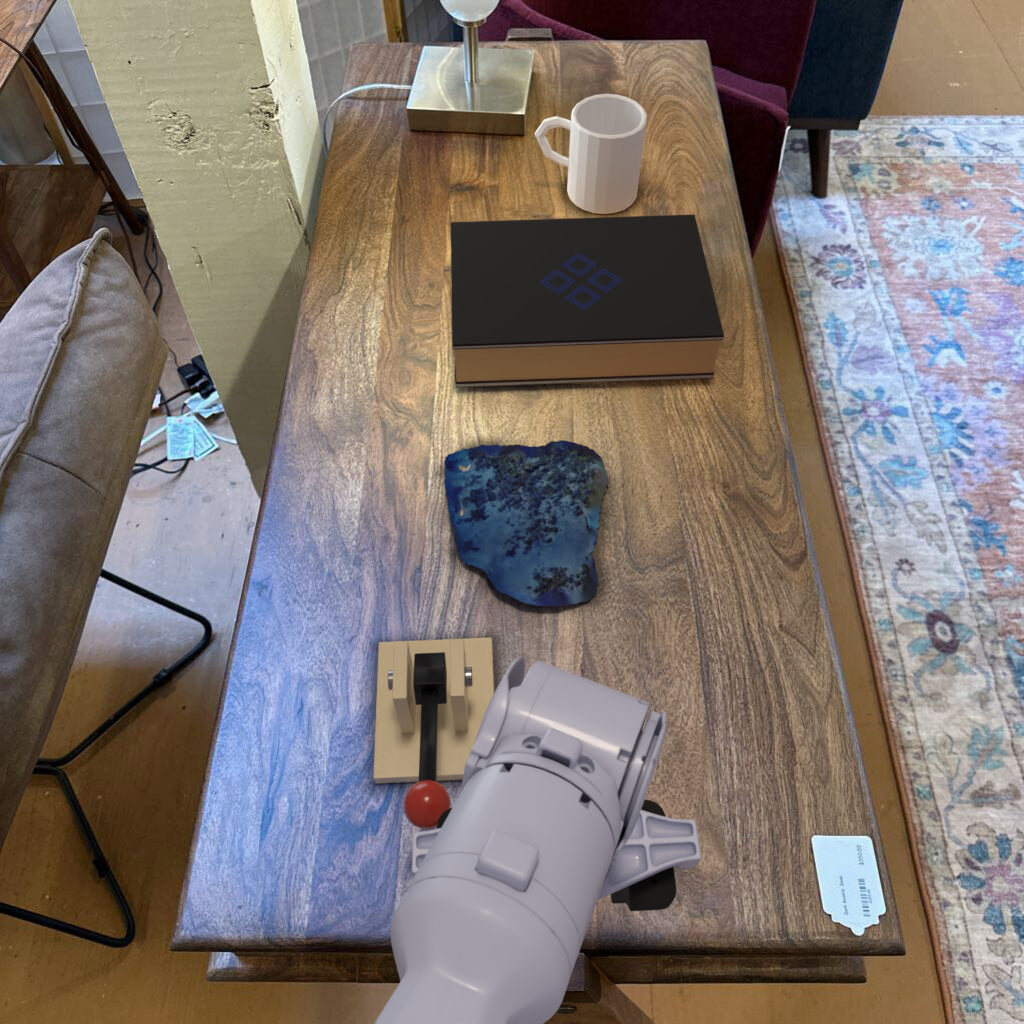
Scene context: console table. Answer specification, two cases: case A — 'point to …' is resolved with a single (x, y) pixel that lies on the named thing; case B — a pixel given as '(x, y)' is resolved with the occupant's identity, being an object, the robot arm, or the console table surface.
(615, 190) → the mug
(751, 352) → the console table surface
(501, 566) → the rock
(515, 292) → the book
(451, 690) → the bracket
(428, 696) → the lever
